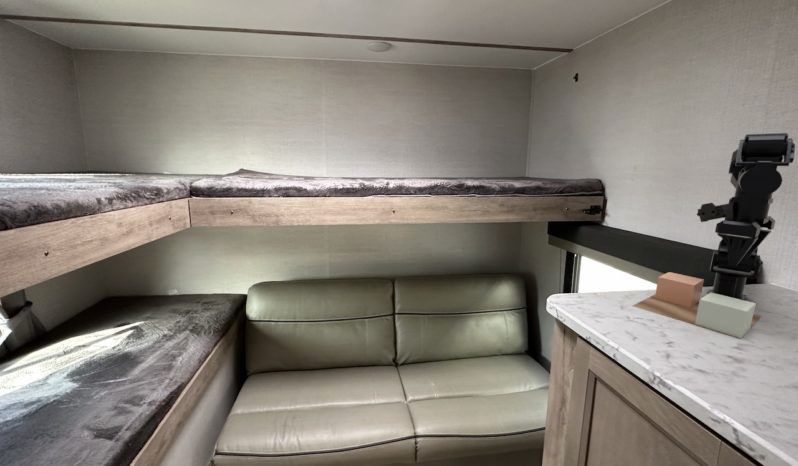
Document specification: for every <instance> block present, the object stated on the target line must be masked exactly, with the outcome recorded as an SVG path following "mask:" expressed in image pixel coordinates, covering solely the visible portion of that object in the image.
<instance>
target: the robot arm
mask: <svg viewBox="0 0 798 466" xmlns="http://www.w3.org/2000/svg"><path fill="white" fill-rule="evenodd" d="M795 148H796V144H795V143H794V139H793V138H792V137H791V138H789V134H788V132H780V133H778V132H777V133H748V134H745V135H744V139H740V140H739V143H738V148H737V149H736V150H735V151H733V152H732V154H731V158H730V162H729V163H730V164H729V168H728V172H727V173H728V174H730V175H731V176H730V184H732V186H733V187H734V188H735V192H734V196H731V198H729V199H728V203H724V204H719V205H715V204H714V203H713V202H708V203H703V204H701V206H700V208H698V209H697V213H696V216H697V217H699V220H700V223H705V222H709V221H711V220H713V221H714V220H717V219H723V220H721V221H720V222H718V223H716V226H715V230H714V233H716V234H717V236H718V237H720V238H721V240H720V241H719V244H718V247H717V249H714V250H713V254H712V258H711V263H710V267H709V272H710V273H715V277H714V282H713V287H712V289H711V290H709V291H707V292H706V293H707V294H709V293H710V292H711V293H715V294H719V295H724V296H728V297H732V298H736V299H740V300H744V301H745V299H746V298H747V295H746V294H744V290H745V286H746V282H747V279H752V280H756V279H759V276H760V273H761V271H762V266H763V265H764V261H763V260H762V258H761V255H758V249H759V247H760V246H761V244H762V242H763V241H765V240H766V238H768V236H769V235H770V234H771V232H772V230H774V229H775V224H776V220H775V219H774V218H773V217H772V216H770V215H769V211H770V206H771V204H773V203H774V198H773V193H775V192H776V191H777V190H778V189H779V188H780V187H781V186H782V184H783V178H782V174H781V173H780V172H779V171H778V167H789V166H790V164H791V163H793V162H794V160H795V150H796V149H795ZM707 294H706V295H707Z"/></svg>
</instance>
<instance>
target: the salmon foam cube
mask: <svg viewBox="0 0 798 466" xmlns="http://www.w3.org/2000/svg"><path fill="white" fill-rule="evenodd" d="M704 282H705V279H704V278H698V277H695V276H694V277H693V276H689V275H684V274H680V273H675V272H672V271H671V272H670V271H668V272H666V273H664V274H661V275H660V276H658V277H657V282H656V283H657V284H656V289H655V294H656V295H655V298H657V299H660V300H664V301H667V302H671V303H675V304H678V305H682V306H686V307H689V308H691V307H692V306H693V305H695V304H696V303H698V302H699V301H700V299H701V298H702V294H703V293H702V292H703V286H704Z"/></svg>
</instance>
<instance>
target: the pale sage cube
mask: <svg viewBox="0 0 798 466" xmlns="http://www.w3.org/2000/svg"><path fill="white" fill-rule="evenodd" d="M756 304H757V303H756V302H752V301H748V300H745V299H744V300H740V299H736V298H732V297H728V296H724V295H719V294H715V293H711V292H710V293H709V294H706V295H704V296H703V297H701V298H700V301H699V306H698V311H697V316H696V321H695V324H696V325H699V326H703V327H706V328H709V329H712V330H716V331H719V332H722V333H726V334H729V335H732V336H735V337H739V338H741V339H742V338H743V337H744V336H745V335H746V334H747V332H749V330H751V328H752V327H751V322H752V318H753V314H755V309H756ZM696 325H695V326H696ZM699 326H698V327H699ZM750 327H751V328H750ZM706 328H705V329H706ZM709 329H708V330H709ZM712 330H711V331H712ZM719 332H718V333H719ZM722 333H721V334H722ZM745 333H746V334H745ZM744 334H745V335H744ZM743 335H744V336H743ZM732 336H731V337H732ZM742 336H743V337H742ZM735 337H734V338H735Z"/></svg>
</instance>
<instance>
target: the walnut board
mask: <svg viewBox="0 0 798 466" xmlns="http://www.w3.org/2000/svg"><path fill="white" fill-rule="evenodd" d="M655 295H656V293H654V294H653V295H651V296H649V297H647V298H645V299H643V300H641V301H639V302H637V303H635V304H633V305H632V307H635V308H638V309H641V310H644V311H648V312H651V313H653V314H657V315H660V316H664V317H667V318H670V319H674V320H676V321H679V322H682V323H686V324H690V325H693V326H697V327H700V328H703V329H705V330H710V331H713V332H716V333H719V334H722V335H725V336H729V337H732V338H734V339H739V340H741V339H742V338H743V337H744V336H745V335H746V334H747V332H746V333H745V334H744V335H743V336H742V338H739V337H735V336H732V335H729V334H726V333H722V332H719V331H716V330H712V329H709V328H706V327H703V326H699V325H696V324H695V321H696V316H697V311H698V306H699V302H698V303H696V304H695V305H693V306H692V307H691V308H689V307H686V306H682V305H678V304H675V303H671V302H667V301H664V300H660V299H657V298H655ZM762 317H763V316H762V315H760V314H756V313H754V314H753V318H752V322H751V327H750V329H751V328H752V327H754V326H755V324H756V323H757V322H758V321H759V320H760V319H761V318H762Z"/></svg>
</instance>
